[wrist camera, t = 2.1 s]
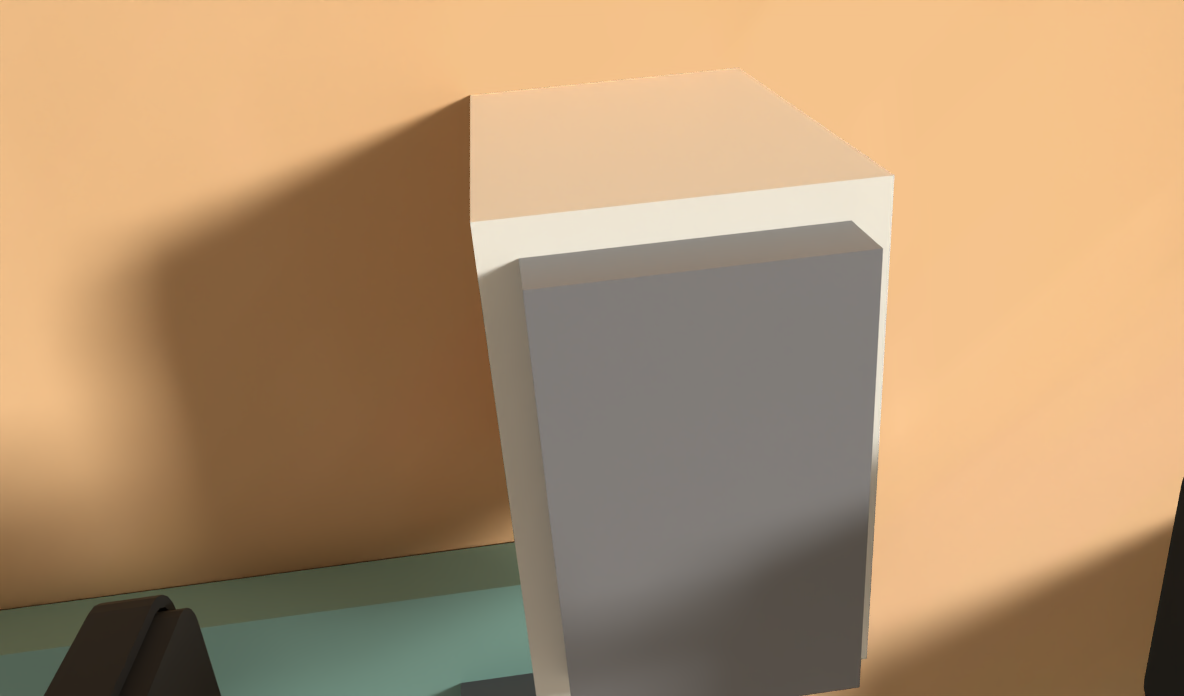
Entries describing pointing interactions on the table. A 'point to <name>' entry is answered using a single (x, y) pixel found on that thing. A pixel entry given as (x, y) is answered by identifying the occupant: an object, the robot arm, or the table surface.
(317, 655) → the board
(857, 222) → the plug
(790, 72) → the table surface
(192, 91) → the table surface
